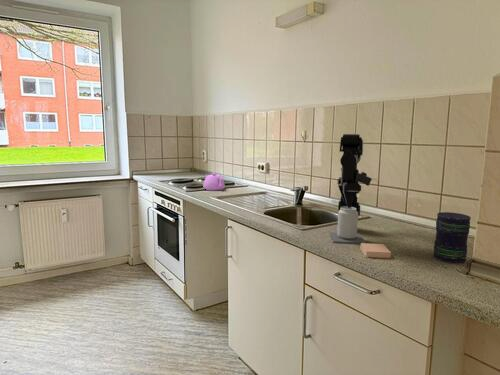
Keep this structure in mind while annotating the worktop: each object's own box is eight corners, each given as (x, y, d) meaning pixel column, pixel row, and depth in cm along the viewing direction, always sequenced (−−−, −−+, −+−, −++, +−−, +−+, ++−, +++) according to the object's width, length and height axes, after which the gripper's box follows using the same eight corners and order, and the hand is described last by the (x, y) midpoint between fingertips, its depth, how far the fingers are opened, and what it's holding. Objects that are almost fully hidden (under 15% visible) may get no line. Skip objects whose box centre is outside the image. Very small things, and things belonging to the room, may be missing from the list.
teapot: (231, 190, 252) (231, 173, 250) (213, 192, 242) (213, 175, 240) (214, 186, 269) (214, 170, 267) (196, 188, 259) (196, 172, 257)
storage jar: (436, 251, 126) (440, 210, 124) (468, 257, 120) (473, 215, 118) (429, 259, 119) (433, 215, 116) (463, 266, 113) (468, 220, 110)
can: (356, 235, 143) (358, 206, 141) (356, 240, 136) (358, 210, 134) (337, 233, 145) (338, 205, 143) (336, 239, 137) (338, 209, 136)
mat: (329, 233, 147) (329, 232, 146) (359, 235, 145) (359, 233, 145) (333, 242, 135) (333, 241, 135) (365, 244, 134) (365, 242, 134)
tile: (360, 243, 128) (366, 251, 119) (383, 244, 128) (390, 252, 119) (360, 249, 129) (366, 258, 120) (382, 250, 128) (390, 259, 119)
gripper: (376, 169, 129) (373, 211, 131) (365, 164, 147) (362, 201, 149) (345, 168, 130) (343, 210, 132) (338, 164, 148) (336, 200, 150)
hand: (347, 205), depth 141 cm, fingers open, 9 cm apart
